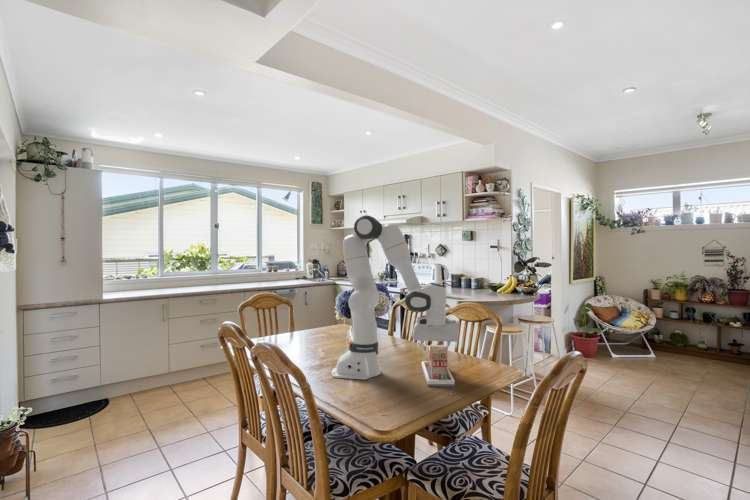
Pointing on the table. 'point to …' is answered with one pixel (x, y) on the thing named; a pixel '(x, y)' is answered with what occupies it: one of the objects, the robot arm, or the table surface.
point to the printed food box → (437, 362)
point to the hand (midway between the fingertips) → (435, 350)
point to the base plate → (437, 383)
